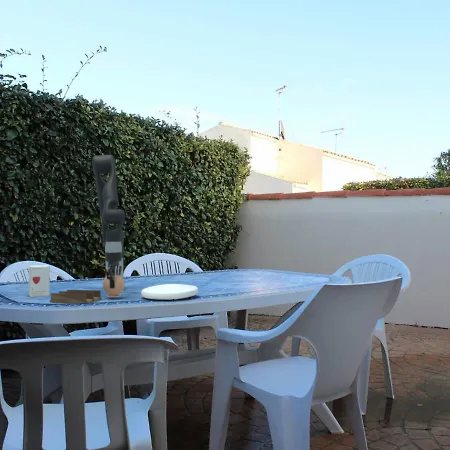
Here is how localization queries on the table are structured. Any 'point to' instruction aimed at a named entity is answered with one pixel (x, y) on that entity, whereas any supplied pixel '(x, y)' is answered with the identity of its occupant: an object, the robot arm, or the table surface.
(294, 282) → the table surface
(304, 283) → the table surface
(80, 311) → the table surface
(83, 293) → the dish rack
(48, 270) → the supplement box
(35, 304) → the table surface
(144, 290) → the plate
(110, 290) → the saucer
